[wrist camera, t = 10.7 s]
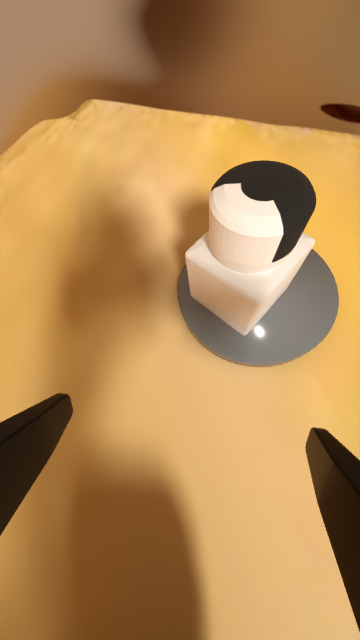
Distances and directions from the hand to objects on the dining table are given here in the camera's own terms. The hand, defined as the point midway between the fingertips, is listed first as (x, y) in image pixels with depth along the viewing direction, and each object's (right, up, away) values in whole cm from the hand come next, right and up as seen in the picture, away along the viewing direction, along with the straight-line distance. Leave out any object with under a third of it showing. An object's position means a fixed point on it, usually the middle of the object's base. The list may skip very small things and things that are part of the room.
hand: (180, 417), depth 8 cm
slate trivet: (+8, +6, +17) cm, 20 cm away
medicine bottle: (+6, +6, +15) cm, 18 cm away
